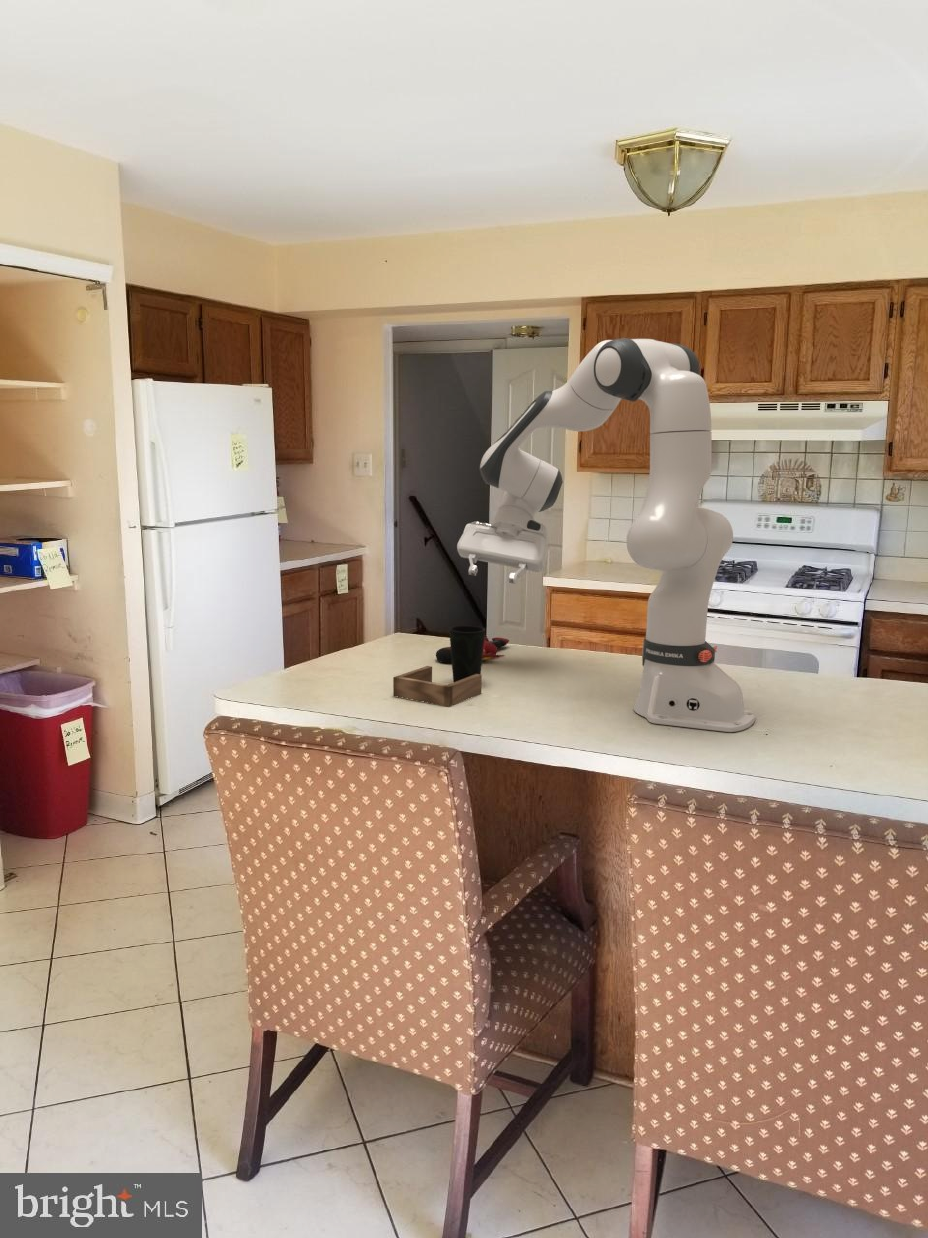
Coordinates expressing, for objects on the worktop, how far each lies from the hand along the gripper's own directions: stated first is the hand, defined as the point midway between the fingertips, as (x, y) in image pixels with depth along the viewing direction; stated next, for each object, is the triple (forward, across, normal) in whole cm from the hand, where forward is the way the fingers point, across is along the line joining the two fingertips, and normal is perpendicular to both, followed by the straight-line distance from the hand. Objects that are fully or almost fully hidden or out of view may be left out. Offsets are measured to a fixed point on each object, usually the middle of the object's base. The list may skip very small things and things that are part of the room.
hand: (491, 578), depth 206 cm
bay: (+30, -1, -1) cm, 30 cm away
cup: (+23, +1, +6) cm, 24 cm away
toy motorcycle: (+6, -6, +28) cm, 29 cm away
